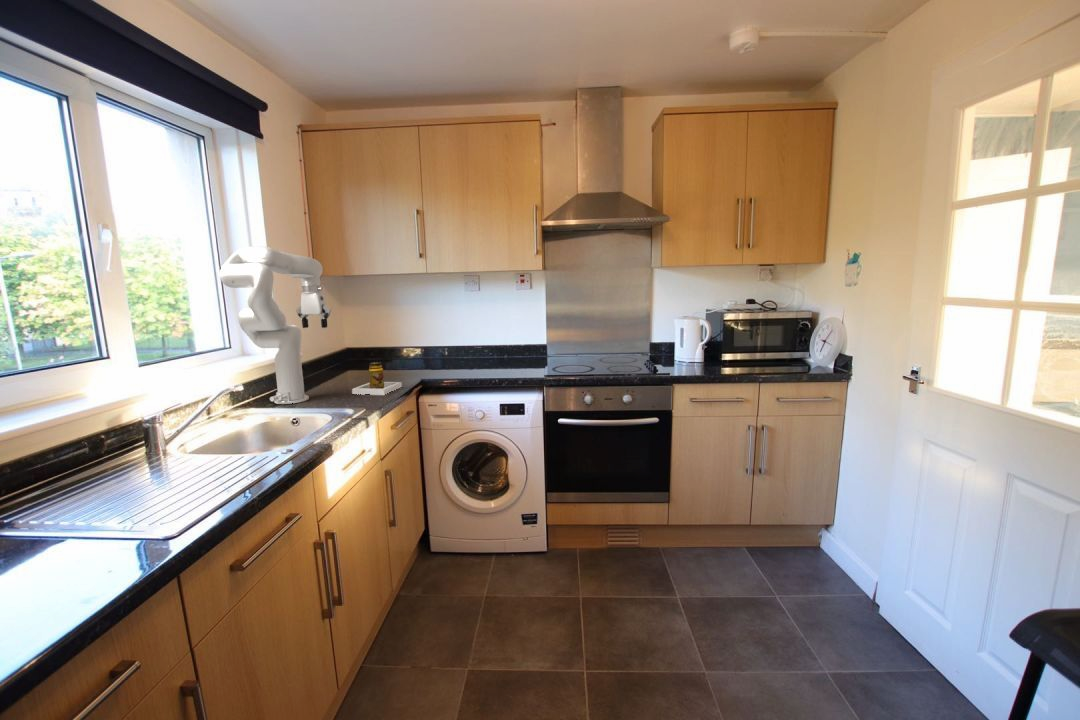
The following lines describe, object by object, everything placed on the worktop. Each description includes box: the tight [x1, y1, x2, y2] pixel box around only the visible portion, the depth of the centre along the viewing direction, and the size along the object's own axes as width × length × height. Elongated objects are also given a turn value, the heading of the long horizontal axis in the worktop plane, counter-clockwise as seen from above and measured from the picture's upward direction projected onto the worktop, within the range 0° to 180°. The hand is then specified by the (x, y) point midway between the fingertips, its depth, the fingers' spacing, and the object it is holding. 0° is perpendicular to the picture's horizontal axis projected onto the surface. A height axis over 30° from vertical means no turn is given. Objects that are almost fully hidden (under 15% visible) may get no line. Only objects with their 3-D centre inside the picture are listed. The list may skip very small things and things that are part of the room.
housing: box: [351, 381, 403, 396], centre depth 206 cm, size 16×15×2 cm
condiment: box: [368, 361, 386, 389], centre depth 205 cm, size 7×8×12 cm
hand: (315, 327), depth 211 cm, fingers open, 9 cm apart
